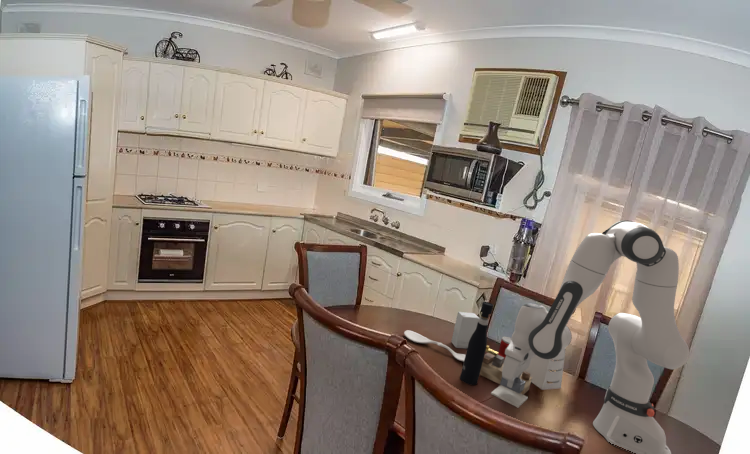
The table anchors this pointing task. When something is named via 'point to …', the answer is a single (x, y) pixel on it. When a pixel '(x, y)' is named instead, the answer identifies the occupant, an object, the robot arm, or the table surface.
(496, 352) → the latch bar
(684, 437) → the table surface
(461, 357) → the spoon
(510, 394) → the felt mat
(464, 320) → the skincare box
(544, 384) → the grater
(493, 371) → the plane body
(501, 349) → the canned food
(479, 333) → the wine bottle
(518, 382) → the grey metal block
